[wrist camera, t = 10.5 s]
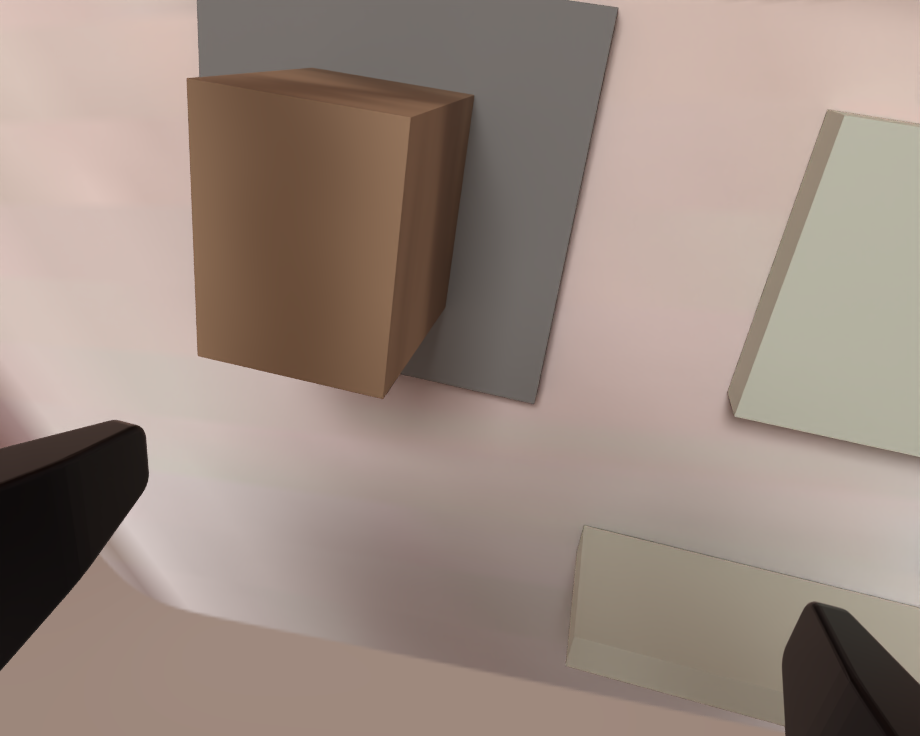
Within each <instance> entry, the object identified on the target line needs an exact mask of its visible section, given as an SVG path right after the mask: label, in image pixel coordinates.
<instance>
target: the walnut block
mask: <svg viewBox="0 0 920 736" xmlns="http://www.w3.org/2000/svg"><path fill="white" fill-rule="evenodd" d="M187 99H188V124H189V149H190V174H191V200H192V225H193V250H194V275H195V300H196V325H197V350H198V356H200V357H204V358H209V359H213V360H217V361H222V362H226V363H230V364H235V365H239V366H243V367H248V368H252V369H256V370H260V371H265V372H269V373H273V374H278V375H282V376H286V377H291V378H295V379H299V380H303V381H308V382H312V383H316V384H321V385H325V386H329V387H334V388H338V389H342V390H347V391H351V392H355V393H359V394H364V395H368V396H372V397H377V398H381V399H383V398H384V397H385V395H386V394H387V392H388V391H389V389H390V388H391V386H392V385H393V384H394V382H395V381H396V379H397V378H398V376H399V375H400V373H401V372H402V370H403V369H404V367H405V366H406V364H407V363H408V362H409V360H410V359H411V357H412V356H413V354H414V353H415V351H416V350H417V348H418V347H419V345H420V344H421V342H422V341H423V340H424V338H425V337H426V335H427V334H428V332H429V331H430V329H431V328H432V326H433V325H434V323H435V322H436V321H437V319H438V318H439V316H440V315H441V313H442V312H443V310H444V309H445V307H446V300H447V292H448V285H449V278H450V270H451V263H452V256H453V248H454V241H455V234H456V226H457V219H458V212H459V204H460V197H461V190H462V182H463V175H464V168H465V160H466V153H467V146H468V138H469V131H470V124H471V116H472V109H473V102H474V95H472V94H466V93H460V92H454V91H448V90H442V89H436V88H430V87H424V86H418V85H412V84H406V83H401V82H395V81H389V80H383V79H377V78H371V77H365V76H359V75H353V74H347V73H341V72H335V71H329V70H323V69H317V68H302V69H290V70H278V71H266V72H255V73H243V74H231V75H219V76H208V77H196V78H187Z"/></svg>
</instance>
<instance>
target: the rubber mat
mask: <svg viewBox="0 0 920 736" xmlns="http://www.w3.org/2000/svg"><path fill="white" fill-rule="evenodd" d="M617 13H618V8H617V7H611V6H604V5H597V4H590V3H583V2H576V1H569V0H197V18H198V48H199V77H208V76H219V75H231V74H243V73H255V72H266V71H278V70H290V69H302V68H317V69H323V70H329V71H335V72H341V73H347V74H353V75H359V76H365V77H371V78H377V79H383V80H389V81H395V82H401V83H406V84H412V85H418V86H424V87H430V88H436V89H442V90H448V91H454V92H460V93H466V94H472V95H474V102H473V109H472V116H471V124H470V131H469V138H468V146H467V153H466V160H465V168H464V175H463V182H462V190H461V197H460V204H459V212H458V219H457V226H456V234H455V241H454V248H453V256H452V263H451V270H450V278H449V285H448V292H447V300H446V307H445V309H444V310H443V312H442V313H441V315H440V316H439V318H438V319H437V321H436V322H435V323H434V325H433V326H432V328H431V329H430V331H429V332H428V334H427V335H426V337H425V338H424V340H423V341H422V342H421V344H420V345H419V347H418V348H417V350H416V351H415V353H414V354H413V356H412V357H411V359H410V360H409V362H408V363H407V364H406V366H405V367H404V369H403V370H402V372H401V373H400V374H403V375H407V376H411V377H416V378H420V379H425V380H429V381H434V382H438V383H443V384H447V385H451V386H456V387H460V388H465V389H469V390H474V391H478V392H483V393H487V394H491V395H496V396H500V397H505V398H509V399H514V400H518V401H523V402H527V403H531V404H534V403H535V399H536V395H537V390H538V386H539V381H540V376H541V372H542V367H543V362H544V357H545V353H546V348H547V343H548V338H549V334H550V329H551V324H552V320H553V315H554V310H555V305H556V301H557V296H558V291H559V287H560V282H561V277H562V272H563V268H564V263H565V258H566V254H567V249H568V244H569V239H570V235H571V230H572V225H573V220H574V216H575V211H576V206H577V202H578V197H579V192H580V187H581V183H582V178H583V173H584V169H585V164H586V159H587V154H588V150H589V145H590V140H591V136H592V131H593V126H594V121H595V117H596V112H597V107H598V102H599V98H600V93H601V88H602V84H603V79H604V74H605V69H606V65H607V60H608V55H609V51H610V46H611V41H612V36H613V32H614V27H615V22H616V18H617Z"/></svg>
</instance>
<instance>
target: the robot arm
mask: <svg viewBox="0 0 920 736" xmlns="http://www.w3.org/2000/svg"><path fill="white" fill-rule="evenodd" d="M148 477H149V468H148V456H147V444H146V435H145V432H144V430H143V429H142V428H141V427H140V426H138V425H134V424H131V423H127V422H123V421H119V420H111V421H106V422H103V423H99V424H95V425H91V426H87V427H83V428H79V429H75V430H71V431H67V432H63V433H59V434H55V435H52V436H48V437H44V438H40V439H36V440H32V441H28V442H24V443H20V444H16V445H12V446H8V447H4V448H1V449H0V671H1V670H2V668H3V667H4V666H5V665H6V664H7V663H8V662H9V660H10V659H11V658H12V657H13V656H14V655H15V654H16V653H17V651H18V650H19V649H20V648H21V647H22V646H23V645H24V643H25V642H26V641H27V640H28V639H29V638H30V637H31V635H32V634H33V633H34V632H35V631H36V630H37V629H38V627H39V626H40V625H41V624H42V623H43V622H44V621H45V619H46V618H47V617H48V616H49V615H50V614H51V613H52V611H53V610H54V609H55V608H56V607H57V605H59V603H60V602H61V601H62V600H63V599H64V598H65V597H66V595H67V594H68V593H69V592H70V591H71V590H72V588H73V587H74V586H75V585H76V584H77V582H78V581H79V580H80V579H81V577H82V576H83V575H84V574H85V572H86V571H87V570H88V568H89V567H90V566H91V564H92V563H93V562H94V560H95V559H96V558H97V556H98V555H99V553H100V552H101V551H102V549H103V548H104V546H105V545H106V544H107V542H108V541H109V539H110V538H111V537H112V535H113V534H114V532H115V531H116V530H117V528H118V527H119V525H120V524H121V523H122V521H123V520H124V518H125V517H126V516H127V514H128V513H129V511H130V510H131V509H132V507H133V506H134V504H135V503H136V502H137V500H138V499H139V497H140V496H141V495H142V493H143V491H144V490H145V488H146V486H147V482H148ZM782 682H783V700H784V718H785V736H920V684H919V683H918V682H917V681H916V680H915V679H914V678H913V677H912V676H911V675H910V674H909V673H908V672H907V671H906V670H905V668H904V667H903V666H902V665H901V664H900V663H899V662H898V661H897V660H896V659H895V658H894V657H893V656H892V655H891V654H890V653H889V652H888V651H887V650H886V649H885V648H884V647H883V646H882V645H881V644H880V643H879V642H878V641H877V640H876V639H875V638H874V637H873V636H872V635H871V634H870V633H869V632H868V631H867V630H866V629H865V628H864V627H863V626H862V625H861V624H860V623H859V621H858V620H857V619H856V618H855V617H854V616H853V615H852V614H851V613H849V612H848V611H847V610H845V609H843V608H840V607H836V606H832V605H828V604H824V603H820V602H817V601H813V602H810V603H808V604H807V605H806V606H805V607H804V609H803V611H802V613H801V615H800V617H799V619H798V621H797V623H796V625H795V627H794V629H793V632H792V634H791V636H790V638H789V640H788V642H787V644H786V646H785V649H784V652H783V657H782Z"/></svg>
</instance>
